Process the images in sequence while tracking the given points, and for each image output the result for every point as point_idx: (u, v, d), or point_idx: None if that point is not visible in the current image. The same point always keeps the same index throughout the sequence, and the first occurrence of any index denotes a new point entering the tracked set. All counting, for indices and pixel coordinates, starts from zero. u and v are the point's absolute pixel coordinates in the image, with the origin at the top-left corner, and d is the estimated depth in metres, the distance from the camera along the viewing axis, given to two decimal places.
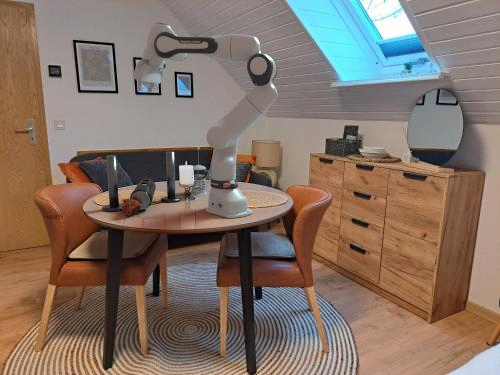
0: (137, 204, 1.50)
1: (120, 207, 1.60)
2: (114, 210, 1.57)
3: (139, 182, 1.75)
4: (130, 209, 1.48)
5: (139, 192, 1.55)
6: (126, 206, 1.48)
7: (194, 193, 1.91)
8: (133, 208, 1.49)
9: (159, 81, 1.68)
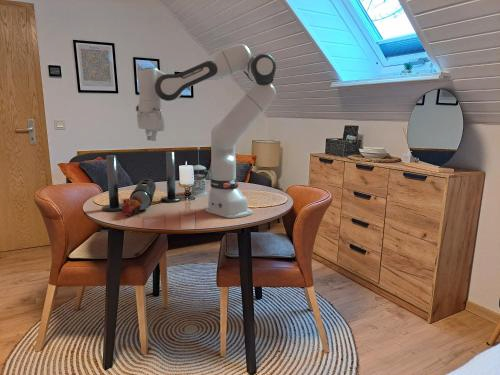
0: (137, 204, 1.50)
1: (120, 207, 1.60)
2: (114, 210, 1.57)
3: (139, 182, 1.75)
4: (130, 209, 1.48)
5: (139, 192, 1.55)
6: (126, 206, 1.48)
7: (194, 193, 1.91)
8: (133, 208, 1.49)
9: None
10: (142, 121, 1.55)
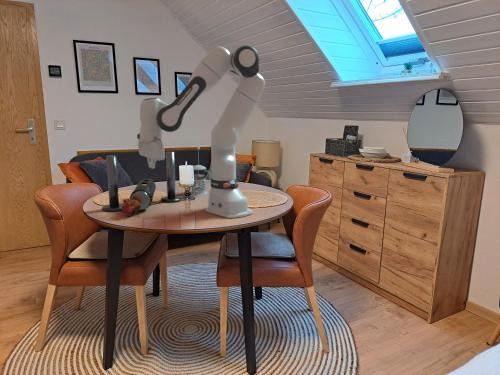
0: (137, 204, 1.50)
1: (120, 207, 1.60)
2: (114, 210, 1.57)
3: (139, 182, 1.75)
4: (130, 209, 1.48)
5: (139, 192, 1.55)
6: (126, 206, 1.48)
7: (194, 193, 1.91)
8: (133, 208, 1.49)
9: None
10: (143, 149, 1.58)
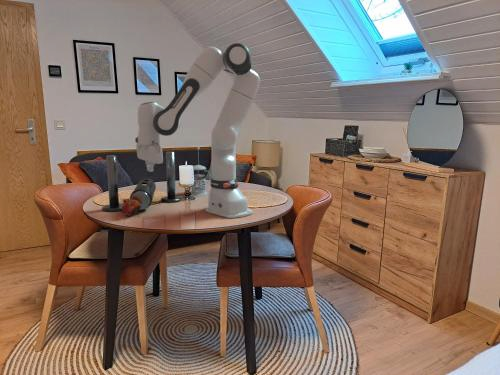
0: (137, 204, 1.50)
1: (120, 207, 1.60)
2: (114, 210, 1.57)
3: (139, 182, 1.75)
4: (130, 209, 1.48)
5: (139, 192, 1.55)
6: (126, 206, 1.48)
7: (194, 193, 1.91)
8: (133, 208, 1.49)
9: None
10: (141, 152, 1.60)
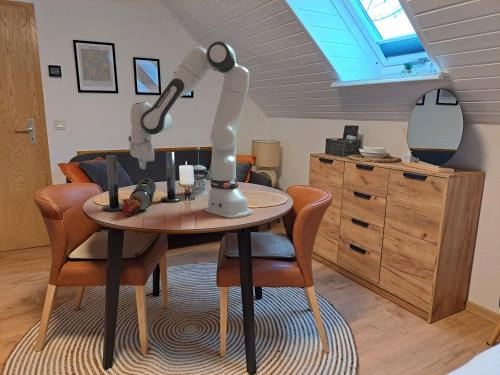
0: (137, 204, 1.50)
1: (120, 207, 1.60)
2: (114, 210, 1.57)
3: (139, 182, 1.75)
4: (130, 209, 1.48)
5: (139, 192, 1.55)
6: (126, 206, 1.48)
7: (194, 193, 1.91)
8: (133, 208, 1.49)
9: None
10: (134, 150, 1.67)
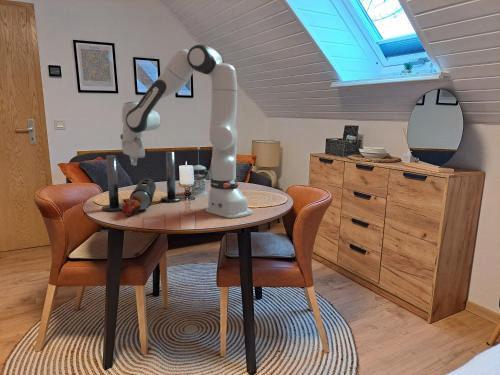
0: (137, 204, 1.50)
1: (120, 207, 1.60)
2: (114, 210, 1.57)
3: (139, 182, 1.75)
4: (130, 209, 1.48)
5: (139, 192, 1.55)
6: (126, 206, 1.48)
7: (194, 193, 1.91)
8: (133, 208, 1.49)
9: None
10: (126, 148, 1.75)
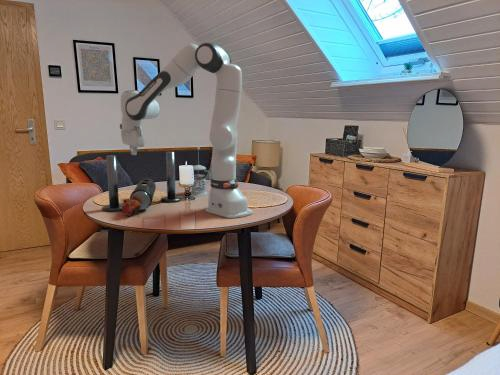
0: (137, 204, 1.50)
1: (120, 207, 1.60)
2: (114, 210, 1.57)
3: (139, 182, 1.75)
4: (130, 209, 1.48)
5: (139, 192, 1.55)
6: (126, 206, 1.48)
7: (194, 193, 1.91)
8: (133, 208, 1.49)
9: None
10: (126, 137, 1.74)
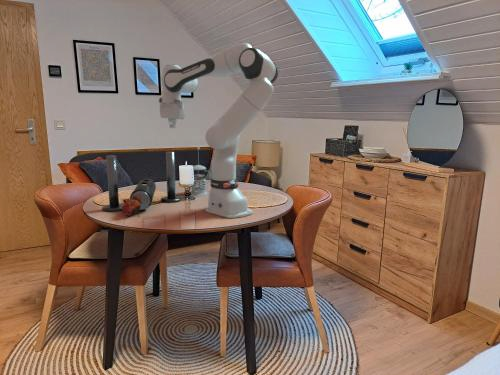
0: (137, 204, 1.50)
1: (120, 207, 1.60)
2: (114, 210, 1.57)
3: (139, 182, 1.75)
4: (130, 209, 1.48)
5: (139, 192, 1.55)
6: (126, 206, 1.48)
7: (194, 193, 1.91)
8: (133, 208, 1.49)
9: None
10: (165, 111, 1.80)
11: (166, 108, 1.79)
